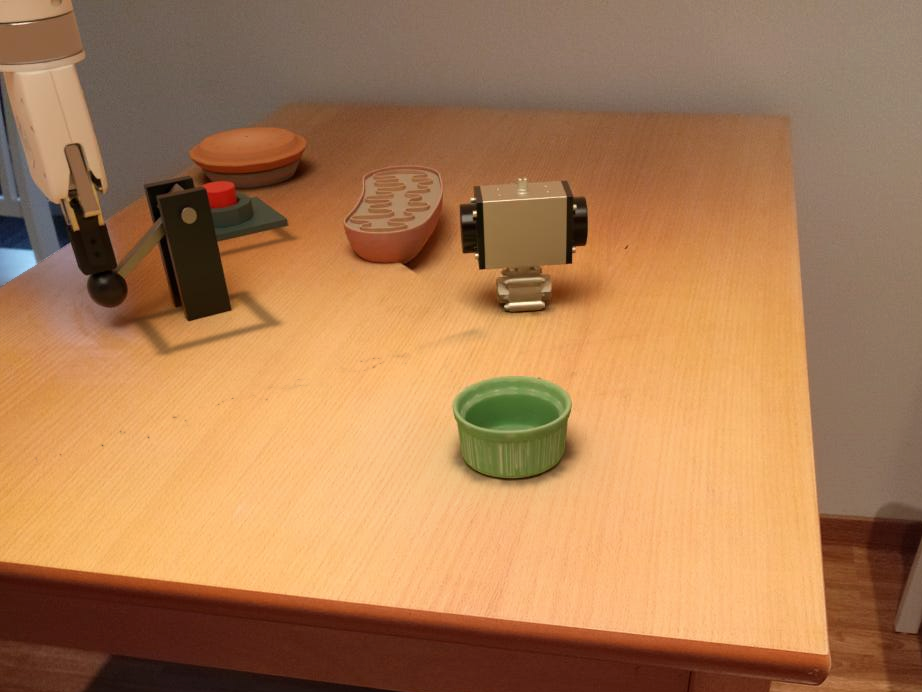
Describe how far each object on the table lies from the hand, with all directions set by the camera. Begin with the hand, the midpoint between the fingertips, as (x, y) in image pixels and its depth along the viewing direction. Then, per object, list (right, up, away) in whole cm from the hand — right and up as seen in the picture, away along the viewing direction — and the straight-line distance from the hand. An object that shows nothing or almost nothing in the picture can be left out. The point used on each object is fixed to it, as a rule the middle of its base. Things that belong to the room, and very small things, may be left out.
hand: (98, 269), depth 93 cm
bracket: (+8, -2, +8) cm, 11 cm away
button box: (+5, +13, +26) cm, 30 cm away
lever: (+5, +1, +2) cm, 5 cm away
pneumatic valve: (+39, -1, +8) cm, 40 cm away
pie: (+4, +28, +44) cm, 52 cm away
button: (+5, +16, +24) cm, 29 cm away
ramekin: (+38, -20, -14) cm, 45 cm away
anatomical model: (+26, +11, +23) cm, 36 cm away
